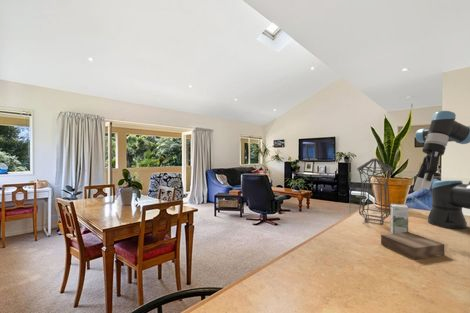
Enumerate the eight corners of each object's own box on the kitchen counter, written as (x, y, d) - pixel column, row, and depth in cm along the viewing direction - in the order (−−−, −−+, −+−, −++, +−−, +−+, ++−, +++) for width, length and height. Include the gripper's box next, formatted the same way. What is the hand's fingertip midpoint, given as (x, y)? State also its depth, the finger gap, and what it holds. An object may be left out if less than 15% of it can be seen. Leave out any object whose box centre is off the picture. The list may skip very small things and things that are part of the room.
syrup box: (405, 235, 106) (405, 203, 105) (408, 240, 100) (408, 206, 100) (390, 233, 108) (390, 202, 108) (392, 238, 103) (392, 205, 102)
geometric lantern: (392, 221, 128) (393, 158, 127) (388, 228, 116) (389, 159, 115) (361, 215, 138) (361, 157, 137) (354, 222, 127) (355, 158, 125)
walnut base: (408, 241, 99) (408, 231, 99) (444, 255, 85) (444, 244, 85) (381, 244, 96) (381, 234, 96) (414, 259, 82) (414, 248, 82)
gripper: (417, 149, 116) (404, 189, 115) (433, 134, 94) (417, 184, 93) (436, 153, 112) (423, 194, 111) (457, 139, 90) (441, 190, 89)
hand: (420, 190), depth 102 cm, fingers open, 13 cm apart
